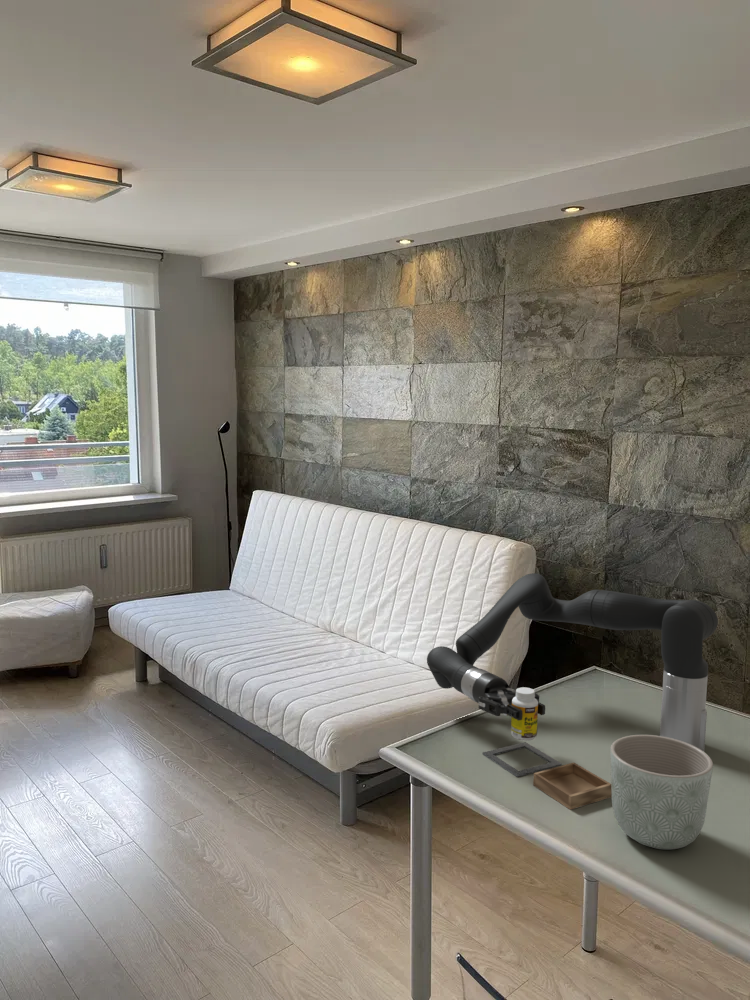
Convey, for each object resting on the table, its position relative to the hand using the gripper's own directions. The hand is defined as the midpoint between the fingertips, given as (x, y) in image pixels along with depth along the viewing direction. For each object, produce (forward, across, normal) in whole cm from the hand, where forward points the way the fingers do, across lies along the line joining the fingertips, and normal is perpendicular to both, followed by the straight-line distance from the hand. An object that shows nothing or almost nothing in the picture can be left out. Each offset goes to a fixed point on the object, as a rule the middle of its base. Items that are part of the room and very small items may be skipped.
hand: (532, 713), depth 162 cm
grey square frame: (-3, 0, +12) cm, 12 cm away
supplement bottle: (-3, 0, +6) cm, 7 cm away
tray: (+13, 0, +12) cm, 17 cm away
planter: (+32, +2, +12) cm, 34 cm away
